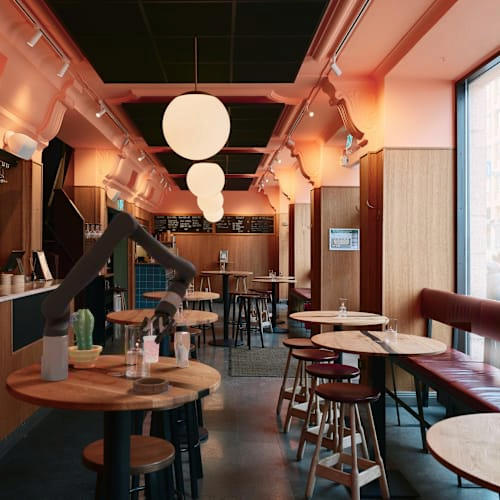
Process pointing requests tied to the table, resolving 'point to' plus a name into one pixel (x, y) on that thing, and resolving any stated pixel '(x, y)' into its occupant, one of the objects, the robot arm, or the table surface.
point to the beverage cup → (151, 348)
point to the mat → (157, 393)
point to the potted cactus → (83, 340)
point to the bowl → (150, 385)
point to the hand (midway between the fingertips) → (148, 342)
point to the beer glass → (182, 348)
